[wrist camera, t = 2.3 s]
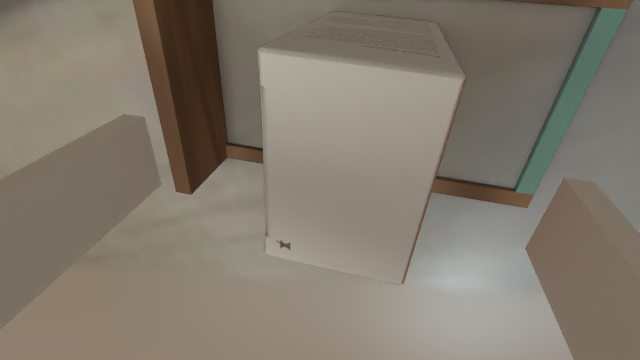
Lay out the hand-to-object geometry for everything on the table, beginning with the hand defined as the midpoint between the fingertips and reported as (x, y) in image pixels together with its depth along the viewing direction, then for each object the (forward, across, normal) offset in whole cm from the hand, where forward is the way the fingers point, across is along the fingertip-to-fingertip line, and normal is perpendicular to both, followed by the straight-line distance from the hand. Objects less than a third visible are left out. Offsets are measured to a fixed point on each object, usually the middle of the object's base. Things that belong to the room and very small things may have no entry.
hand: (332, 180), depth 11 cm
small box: (+10, 0, 0) cm, 10 cm away
